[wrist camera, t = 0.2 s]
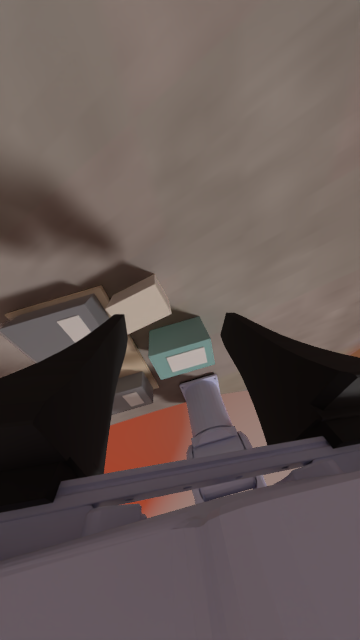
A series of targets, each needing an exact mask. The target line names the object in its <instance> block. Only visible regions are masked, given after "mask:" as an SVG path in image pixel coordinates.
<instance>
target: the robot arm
mask: <svg viewBox="0 0 360 640" xmlns="http://www.w3.org/2000/svg"><path fill="white" fill-rule="evenodd" d="M221 338H222V341H223V343H224V346H225V348H226V350H227V351H228V353H229V355H230V357H231V358H232V360H233V362H234V364H235V365H236V367H237V369H238V370H239V372H240V374H241V376H242V378H243V380H244V383H245V385H246V387H247V390H248V392H249V394H250V397H251V399H252V402H253V404H254V407H255V410H256V412H257V415H258V418H259V421H260V424H261V427H262V430H263V433H264V436H265V439H266V442H267V445H268V446H262V447H256V448H252V446H251V444H250V442H249V440H248V438H247V436H246V435H245V434H243V433H242V432H241V431H238V432H237V431H236V428H235V426H233V425H232V423H231V420H230V418H229V416H228V413H227V410H226V408H225V405H224V403H223V400H222V398H221V395H220V390H219V384H218V378H217V375H216V374H213V375H209V376H206V377H203V378H199V379H196V380H192V381H189V382H185V383H182V384H180V385H179V386H180V389H181V391H182V393H183V396H184V398H185V400H186V403H187V407H188V413H189V418H190V424H191V429H192V434H193V438H192V439H191V440H192V445H190V446H189V448H188V451H187V460H182V461H176V462H170V463H164V464H158V465H152V466H147V467H141V468H136V469H129V470H124V471H118V472H112V473H107V474H104V466H105V458H106V450H107V442H108V435H109V428H110V421H111V415H112V409H113V403H114V397H115V391H116V386H117V382H118V378H119V375H120V371H121V368H122V364H123V361H124V357H125V354H126V349H127V342H128V335H127V328H126V322H125V315H124V314H114V315H113V316H112V317H110V318H109V319H108V320H106V321H105V322H104V323H103V324H101V325H100V326H99V327H97V328H96V329H95V330H93V331H92V332H91V333H89V334H88V335H86V336H85V337H83V338H82V339H80V340H79V341H77V342H76V343H74V344H72V345H71V346H69V347H67V348H65V349H64V350H62V351H60V352H58V353H56V354H54V355H52V356H50V357H48V358H46V359H44V360H42V361H40V362H38V363H36V364H33V365H31V366H29V367H27V368H24V369H22V370H20V371H17V372H15V373H12V374H10V375H7V376H5V377H2V378H0V640H360V358H358V357H353V356H349V355H344V354H340V353H336V352H332V351H328V350H325V349H321V348H318V347H314V346H311V345H308V344H305V343H302V342H299V341H296V340H293V339H291V338H288V337H285V336H283V335H280V334H278V333H276V332H274V331H271V330H269V329H267V328H265V327H263V326H261V325H259V324H257V323H255V322H253V321H251V320H249V319H247V318H245V317H243V316H241V315H238V314H236V313H226V316H225V319H224V323H223V327H222V331H221ZM303 466H304V467H303ZM298 467H301V468H298ZM293 468H298V469H295V470H293V471H291V473H290V474H289V475H288V476H287V477H285V478H284V479H282V480H281V481H279V482H277V483H275V484H274V485H271V486H266V483H265V480H264V477H263V475H265V474H270V473H274V472H279V471H284V470H289V469H293ZM252 488H253V490H249V489H252ZM188 490H192V492H193V495H194V499H195V504H196V505H192V506H189V507H185V508H182V509H179V510H175V511H172V512H168V513H165V514H161V515H158V516H154V517H151V518H147V517H146V515H145V514H142V513H141V506H140V504H128V505H120V504H125V503H130V502H135V501H140V500H144V499H149V498H154V497H159V496H164V495H168V494H173V493H178V492H183V491H188ZM245 490H249V491H245ZM241 491H245V492H241ZM238 492H241V493H238ZM234 493H237V494H234ZM231 494H233V495H231ZM227 495H229V496H227ZM224 496H225V497H224ZM220 497H221V498H220ZM217 498H218V499H217ZM213 499H214V500H213Z"/></svg>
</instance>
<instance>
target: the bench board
mask: <svg viewBox="0 0 360 640" xmlns="http://www.w3.org/2000/svg"><path fill="white" fill-rule="evenodd" d="M93 293H95V295H96V297H97V298H98V300H99V301H100V303H101V305H102V306H103V308H104V310H105V308H106V307H107V305H108V303H109V301H110V299H109V298H108V296H107V294H106V292H105V291H104V289H103V287H102V285H101V286H97V287H94V288H90V289H87V290H84V291H80V292H77V293H73V294H70V295H67V296H63V297H60V298H57V299H53V300H50V301H46V302H43V303H40V304H36V305H33V306H29V307H26V308H23V309H19V310H16V311H13V312H9V313H7V314H5V315H4V316H6V317H7V318H8V319H10V318H12V317H15V316H18V315H22V314H25V313H28V312H32V311H35V310H39V309H42V308H45V307H49V306H52V305H56V304H59V303H62V302H66V301H69V300H72V299H76V298H79V297H83V296H86V295H89V294H93ZM105 311H106V310H105ZM106 313H107V314H108V316H109V318H110V317H111V315H110V314H109V313H108V312H107V311H106ZM142 371H143V372H144V374H145V376H146V377H147V379H148V381H149V382H150V384H151V385H152V387H153V389H157V388H159V385H158V383H157V382H156V380H155V378H154V376H153V375H152V373H151V371H150V369H149V368H148V366H147V364H146V362H145V361H144V359H143V357H142V355H141V354H140V352H139V350H138V348H137V347H136V345H135V343H134V341H133V340H132V338H131V336H130V334H128V342H127V349H126V354H125V357H124V361H123V364H122V368H121V371H120V375H119V378H121V377H124V376H128V375H131V374H135V373H138V372H142Z"/></svg>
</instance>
